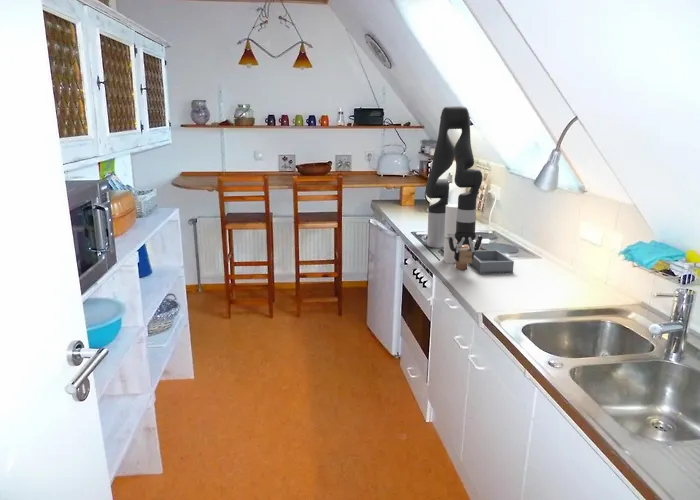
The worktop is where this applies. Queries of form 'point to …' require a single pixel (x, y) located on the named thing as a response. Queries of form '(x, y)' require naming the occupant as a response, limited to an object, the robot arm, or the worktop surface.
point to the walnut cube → (465, 256)
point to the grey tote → (491, 262)
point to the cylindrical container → (450, 231)
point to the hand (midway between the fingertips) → (463, 260)
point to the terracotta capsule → (461, 266)
